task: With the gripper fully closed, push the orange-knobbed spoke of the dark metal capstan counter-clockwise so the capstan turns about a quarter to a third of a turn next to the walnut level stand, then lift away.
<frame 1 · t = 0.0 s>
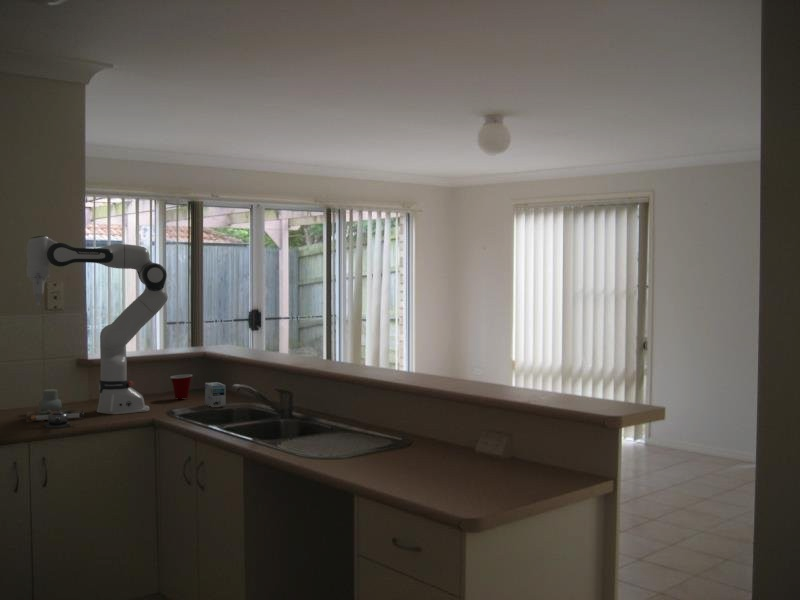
hand: (38, 305, 329), 48 cm above the worktop, tool pointing down, fingers open, 8 cm apart
plastic cup: (181, 399, 377), on the worktop
pedestal: (57, 426, 308), on the worktop
light bulb box: (215, 406, 360), on the worktop
air freshener: (50, 412, 338), on the worktop
capstan: (57, 417, 308), point 4 cm above the worktop, hinge at 0.0°
level stand: (55, 418, 324), on the worktop
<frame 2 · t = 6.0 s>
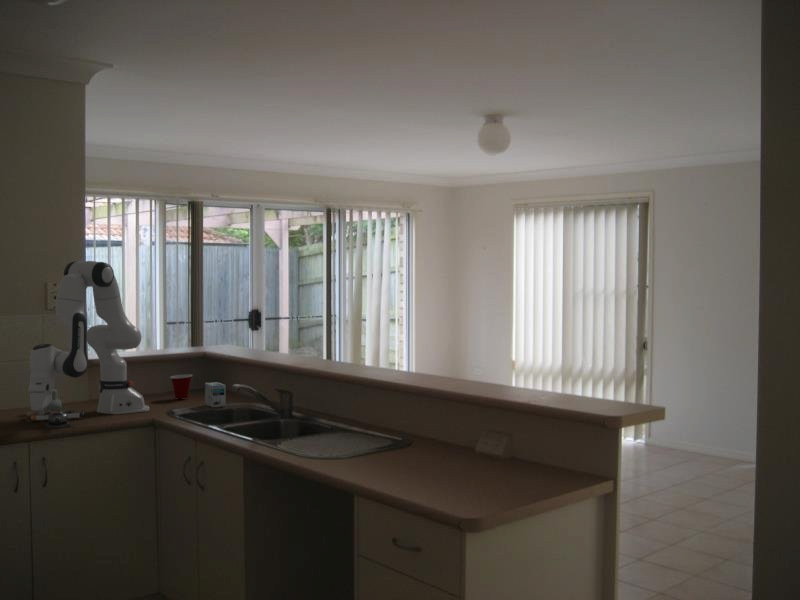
hand: (42, 418, 307), 3 cm above the worktop, tool pointing down, fingers closed
capstan: (57, 417, 308), point 4 cm above the worktop, hinge at 0.0°, touching gripper
everything else where it was.
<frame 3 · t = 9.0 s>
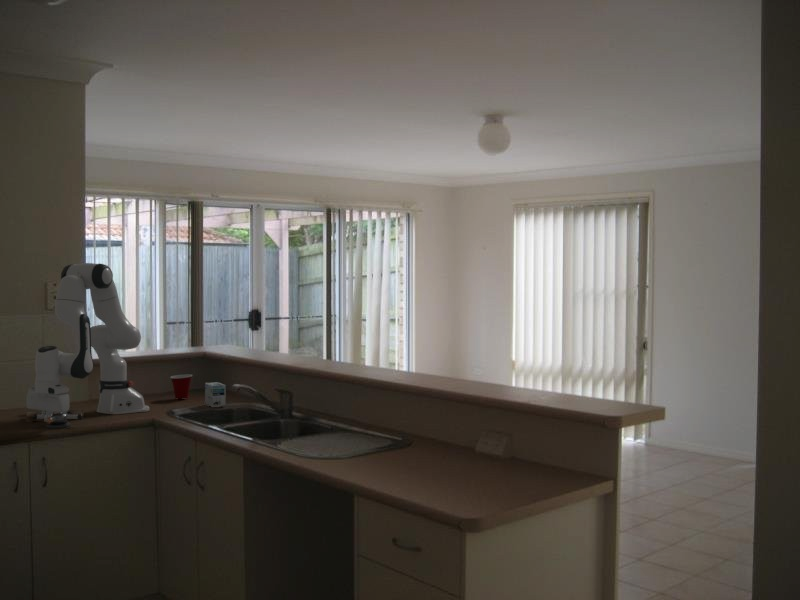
hand: (47, 421, 302), 3 cm above the worktop, tool pointing down, fingers closed
capstan: (57, 417, 308), point 4 cm above the worktop, hinge at 68.9°, touching gripper
everything else where it was.
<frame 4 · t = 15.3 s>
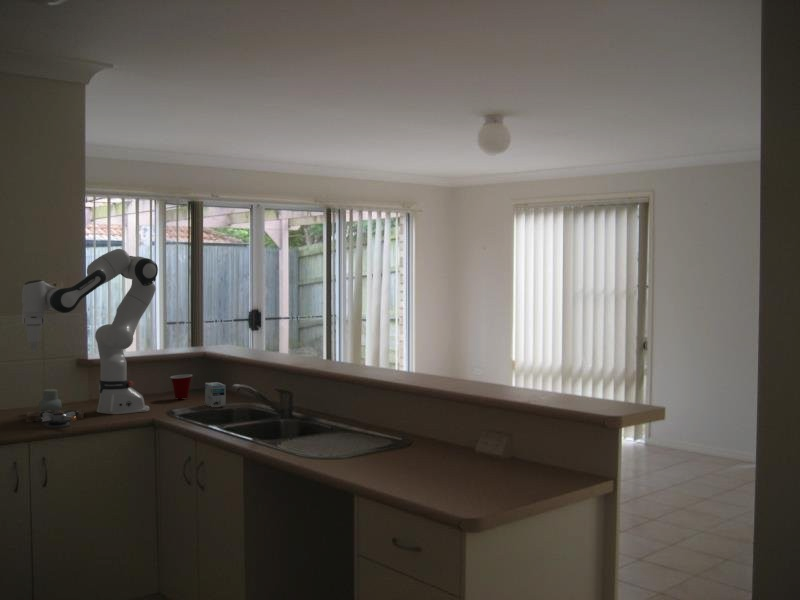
hand: (34, 352, 314), 29 cm above the worktop, tool pointing down, fingers closed
capstan: (57, 417, 308), point 4 cm above the worktop, hinge at 130.0°
everything else where it was.
at the end: capstan at +130° (first picture: +0°); the gripper is holding nothing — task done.
